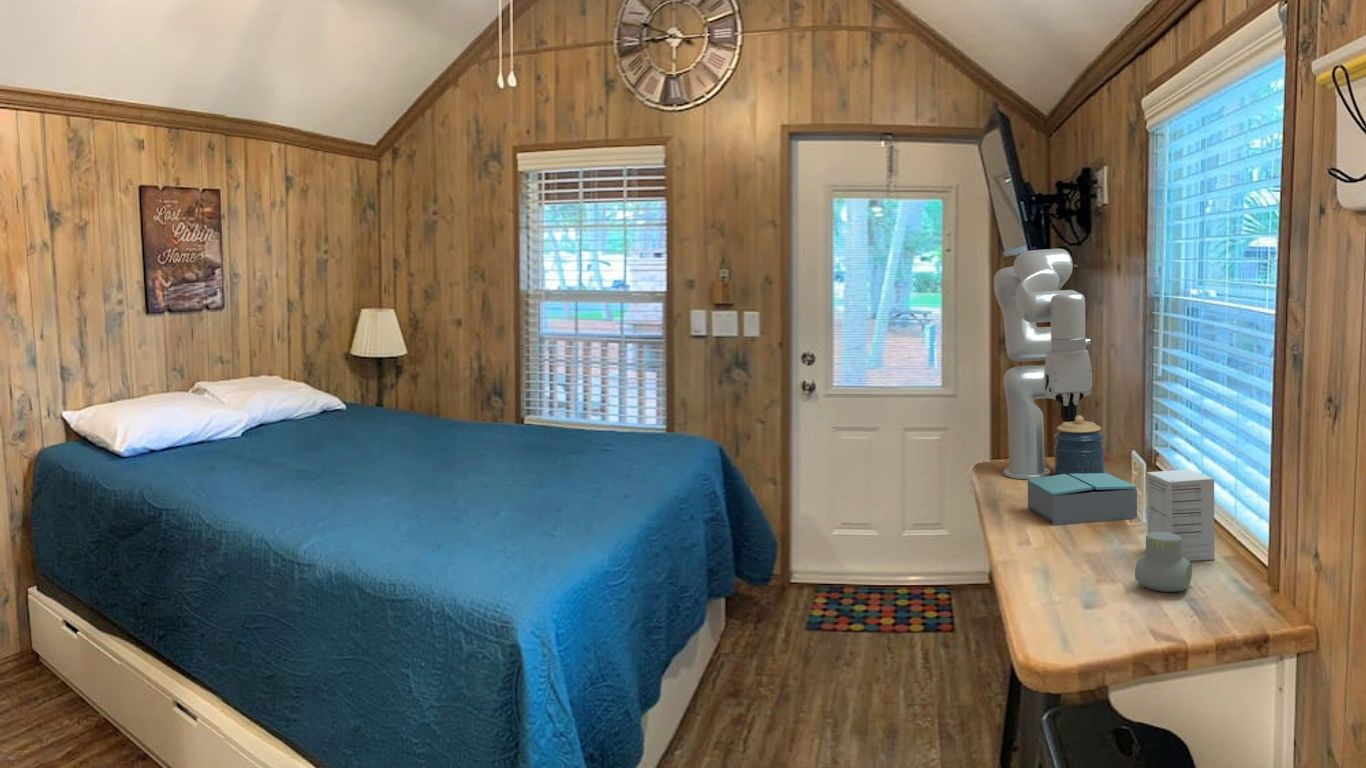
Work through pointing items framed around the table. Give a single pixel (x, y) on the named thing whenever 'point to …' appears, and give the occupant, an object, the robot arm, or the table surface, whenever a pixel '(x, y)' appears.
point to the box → (1083, 505)
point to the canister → (1079, 448)
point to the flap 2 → (1103, 481)
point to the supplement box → (1183, 510)
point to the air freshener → (1163, 564)
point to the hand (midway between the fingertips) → (1068, 420)
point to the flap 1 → (1059, 484)
